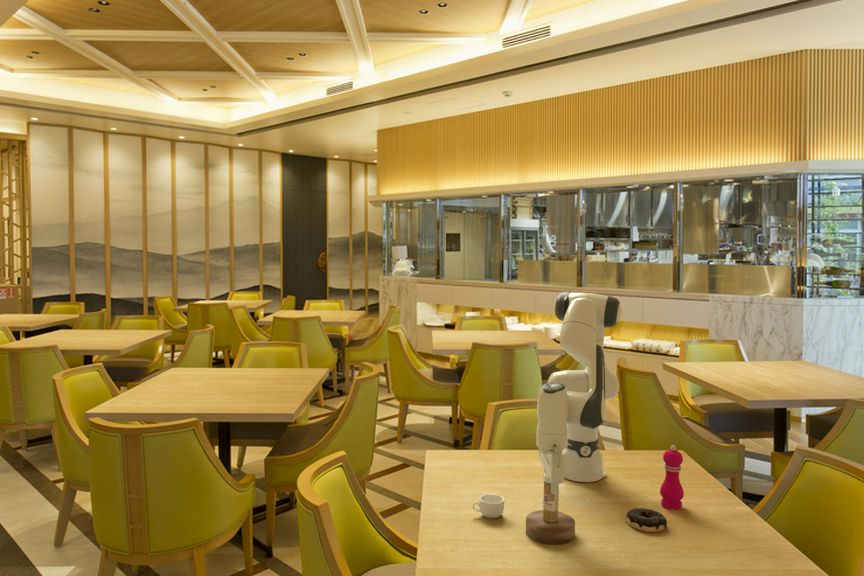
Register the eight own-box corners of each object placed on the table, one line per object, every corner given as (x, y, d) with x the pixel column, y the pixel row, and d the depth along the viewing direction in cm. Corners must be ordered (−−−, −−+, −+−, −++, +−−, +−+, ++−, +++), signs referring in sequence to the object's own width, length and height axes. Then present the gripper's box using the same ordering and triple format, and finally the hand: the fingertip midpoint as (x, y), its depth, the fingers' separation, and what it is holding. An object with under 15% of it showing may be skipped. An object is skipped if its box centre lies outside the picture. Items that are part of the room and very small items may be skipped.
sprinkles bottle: (539, 520, 183) (540, 474, 183) (547, 515, 187) (548, 470, 186) (553, 524, 180) (554, 478, 180) (561, 519, 184) (562, 474, 183)
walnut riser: (522, 522, 191) (522, 509, 191) (569, 523, 191) (569, 510, 190) (529, 544, 177) (529, 530, 177) (579, 544, 177) (579, 530, 176)
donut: (647, 537, 183) (647, 523, 182) (617, 521, 193) (618, 508, 193) (674, 529, 188) (674, 516, 187) (644, 514, 198) (644, 502, 198)
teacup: (500, 510, 200) (501, 493, 200) (507, 520, 193) (507, 502, 192) (469, 511, 199) (470, 494, 199) (474, 521, 191) (475, 504, 191)
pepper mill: (685, 511, 200) (687, 449, 199) (661, 509, 202) (663, 448, 200) (681, 502, 207) (683, 442, 206) (658, 500, 209) (659, 441, 208)
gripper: (570, 451, 172) (569, 501, 173) (556, 430, 192) (555, 474, 193) (547, 451, 172) (546, 501, 173) (535, 430, 192) (534, 474, 193)
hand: (551, 487), depth 183 cm, fingers open, 8 cm apart
